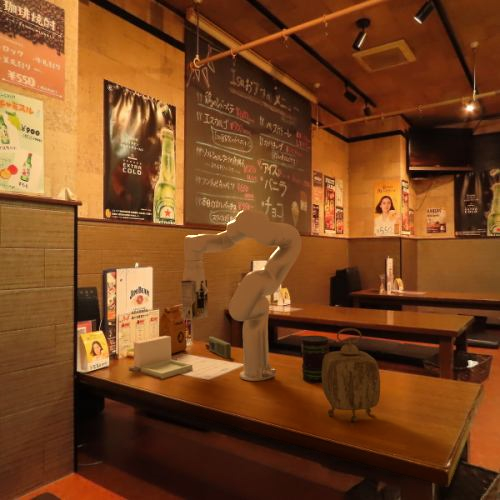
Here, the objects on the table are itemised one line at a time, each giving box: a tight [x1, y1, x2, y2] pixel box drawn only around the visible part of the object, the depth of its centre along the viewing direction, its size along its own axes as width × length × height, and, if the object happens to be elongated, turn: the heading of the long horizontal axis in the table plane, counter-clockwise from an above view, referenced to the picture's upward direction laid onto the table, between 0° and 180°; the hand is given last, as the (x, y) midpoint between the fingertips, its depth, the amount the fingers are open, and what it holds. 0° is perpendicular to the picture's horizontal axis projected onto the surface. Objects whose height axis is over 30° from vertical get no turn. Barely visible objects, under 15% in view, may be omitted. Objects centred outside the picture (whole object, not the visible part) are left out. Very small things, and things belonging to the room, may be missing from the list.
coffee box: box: [181, 279, 209, 321], centre depth 172 cm, size 9×6×16 cm
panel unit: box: [128, 336, 178, 373], centre depth 175 cm, size 6×20×11 cm, turn 138°
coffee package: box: [158, 305, 188, 355], centre depth 198 cm, size 10×12×22 cm
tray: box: [140, 360, 193, 380], centre depth 166 cm, size 14×15×2 cm
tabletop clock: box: [321, 327, 381, 423], centre depth 113 cm, size 14×9×25 cm, turn 92°
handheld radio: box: [205, 336, 232, 359], centre depth 194 cm, size 7×3×25 cm
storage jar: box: [301, 335, 330, 384], centre depth 149 cm, size 10×10×15 cm
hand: (195, 307), depth 172 cm, fingers closed on coffee box, 6 cm apart
